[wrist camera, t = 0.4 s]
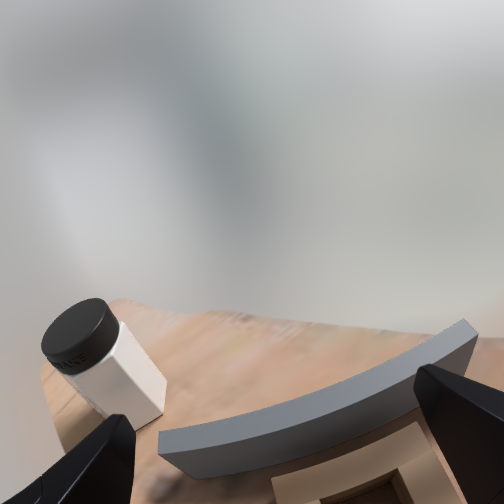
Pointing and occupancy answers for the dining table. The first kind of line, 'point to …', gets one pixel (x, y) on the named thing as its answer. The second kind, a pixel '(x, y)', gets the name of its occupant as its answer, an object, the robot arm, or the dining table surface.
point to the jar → (105, 363)
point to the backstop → (315, 414)
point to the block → (373, 474)
